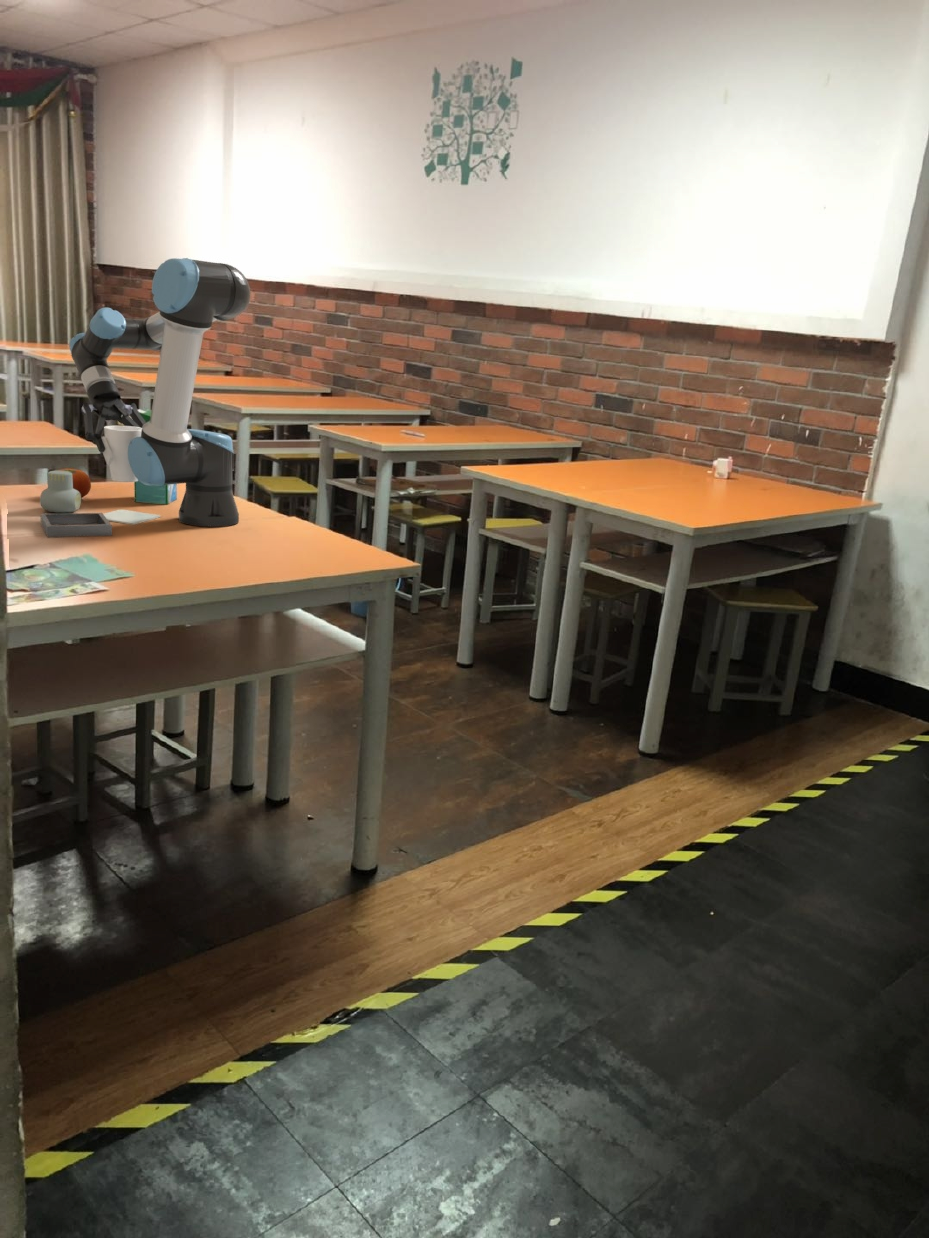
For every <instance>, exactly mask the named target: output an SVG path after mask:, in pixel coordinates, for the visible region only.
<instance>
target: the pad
mask: <svg viewBox="0 0 929 1238" xmlns="http://www.w3.org/2000/svg"><path fill="white" fill-rule="evenodd" d="M103 515H104V516H105V517H106V519H107V520H108V521H109V522H113V523H120V524H126V525H130V526H131V525H137V524H141V523H144V522H148V521H152V520H155V519H157V518H161V517H162V515H160V514H154V513H147V512H140V511H135V510H127V509H117V510H112V511H108V512H105V513H103Z"/></svg>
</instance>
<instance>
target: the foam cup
mask: <svg viewBox="0 0 929 1238" xmlns="http://www.w3.org/2000/svg"><path fill="white" fill-rule="evenodd" d="M141 431H142V428H140V427H133V426H124V425H104V427H103V437H105V438H106V440H107V443H108V445H109V448H110V450H111V453H112V455H113V460H112V462H111V464H110V465H108V466H109V470H110V471H109V472H110V477H111V480H112V481H114V482H118V483H134V482H136V481H138V479H137V478H136V477H135V475H134V474H133V472H132V469H131V467H130V464H129V460H128V446H129V443H130V441H132V439H134V438H136V437H141Z"/></svg>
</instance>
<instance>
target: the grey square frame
mask: <svg viewBox="0 0 929 1238" xmlns="http://www.w3.org/2000/svg"><path fill="white" fill-rule="evenodd" d="M103 514H104V513H103V512H75V513H74V512H72V513H40V525H41V527H42V529H43V531H44V533H45V535H46V537H47V538H70V537H71V538H73V537H75V538H76V537H94V536H95V537H105V536H106V537H107V536H109V537H110V536H113V528H112V527H113V526H112V524H111V521H108V520H107V519H106V517H105V516H104V515H103Z"/></svg>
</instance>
